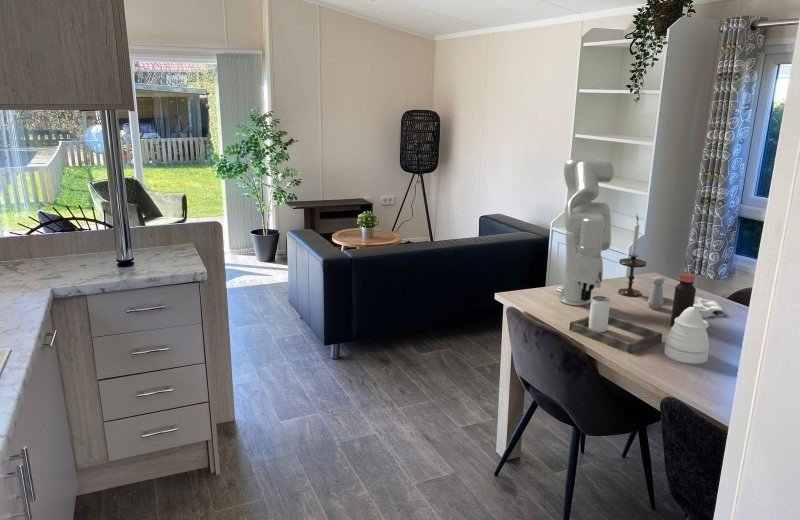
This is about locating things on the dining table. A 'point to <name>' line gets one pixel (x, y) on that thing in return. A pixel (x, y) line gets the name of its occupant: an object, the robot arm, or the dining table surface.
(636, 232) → the candlestick
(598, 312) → the can
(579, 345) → the dining table surface
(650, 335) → the frame
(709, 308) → the white crumpled cloth
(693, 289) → the bottle
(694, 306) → the honey pot
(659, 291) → the salt shaker
